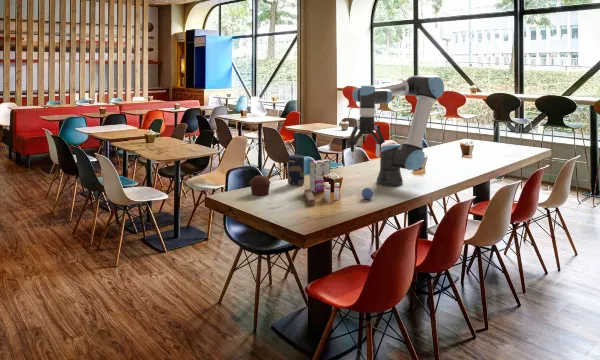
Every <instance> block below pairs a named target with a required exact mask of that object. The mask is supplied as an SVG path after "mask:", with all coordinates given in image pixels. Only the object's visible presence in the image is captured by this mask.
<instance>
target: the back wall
mask: <svg viewBox="0 0 600 360" xmlns="http://www.w3.org/2000/svg"><path fill="white" fill-rule="evenodd" d="M304 197H305V200H306V203H307V205H308V206H309V207H310V206H316V199H315V196H314V194H313V191H311V190H310V188H309V189H307V188H306V189H304Z"/></svg>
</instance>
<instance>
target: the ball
mask: <svg viewBox="0 0 600 360" xmlns="http://www.w3.org/2000/svg"><path fill="white" fill-rule="evenodd" d="M361 196H362V198H363V199H365V200H370V199H372V198H373V196H374V190H373V189H372V188H371V187H365V188H363V189H362V191H361Z"/></svg>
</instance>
